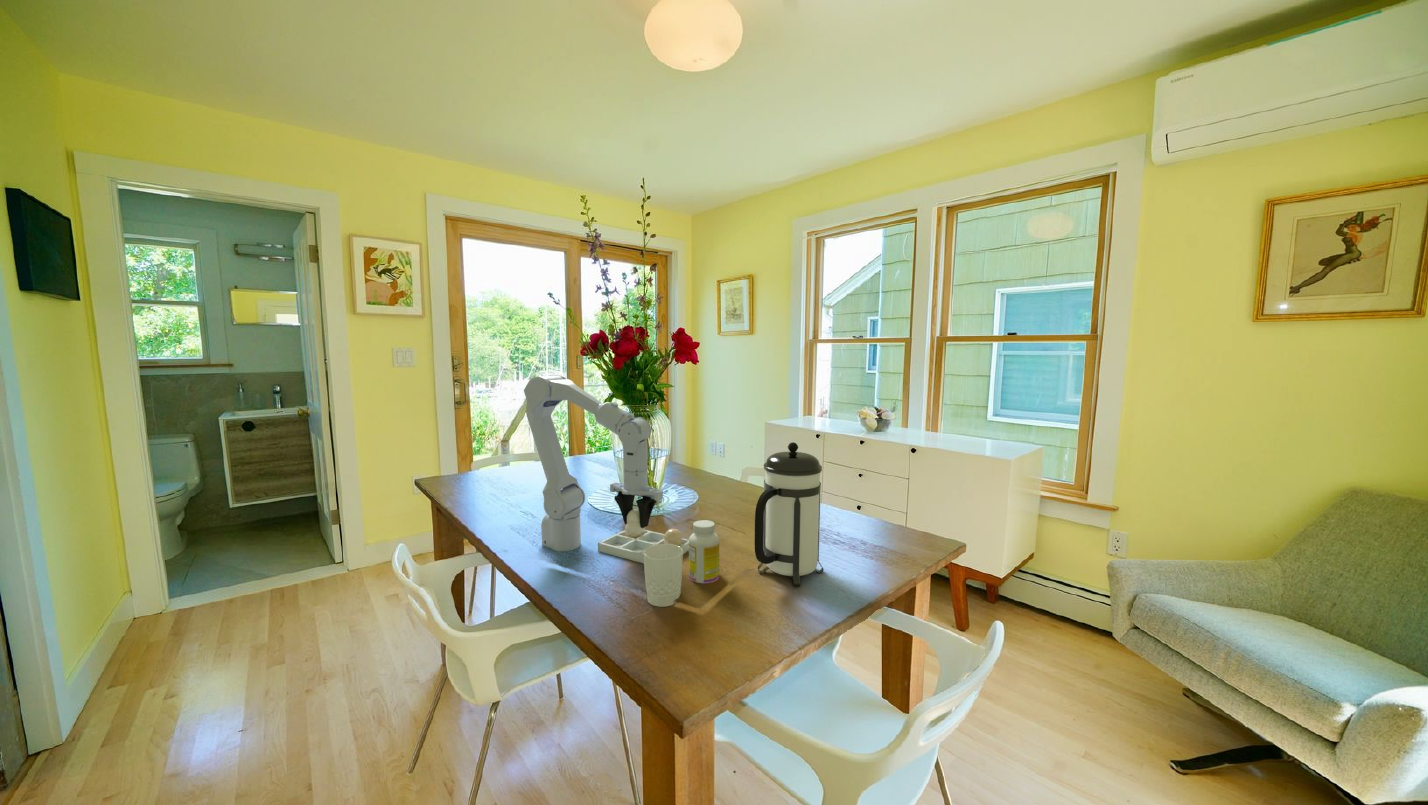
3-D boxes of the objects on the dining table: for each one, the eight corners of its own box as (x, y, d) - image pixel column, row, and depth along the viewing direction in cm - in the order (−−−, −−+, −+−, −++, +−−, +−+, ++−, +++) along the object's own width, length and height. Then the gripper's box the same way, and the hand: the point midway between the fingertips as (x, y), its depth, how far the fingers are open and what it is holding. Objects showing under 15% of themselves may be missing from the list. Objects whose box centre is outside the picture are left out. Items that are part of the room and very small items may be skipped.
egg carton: (598, 554, 119) (597, 542, 119) (631, 537, 131) (631, 526, 130) (661, 572, 110) (661, 559, 110) (692, 552, 121) (692, 540, 121)
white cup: (677, 610, 93) (676, 561, 92) (638, 606, 95) (637, 557, 94) (687, 591, 101) (687, 545, 100) (651, 587, 103) (650, 542, 102)
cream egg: (623, 531, 116) (622, 509, 115) (634, 526, 119) (634, 504, 119) (637, 535, 113) (637, 512, 113) (649, 529, 117) (648, 507, 117)
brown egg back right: (660, 551, 119) (660, 530, 118) (670, 545, 123) (670, 524, 122) (675, 555, 117) (675, 533, 116) (685, 549, 121) (685, 528, 120)
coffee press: (752, 557, 118) (753, 436, 115) (818, 559, 117) (821, 437, 114) (753, 592, 101) (755, 450, 98) (831, 594, 100) (835, 451, 97)
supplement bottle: (723, 576, 108) (723, 520, 107) (713, 589, 102) (713, 530, 101) (695, 571, 110) (695, 517, 109) (684, 584, 104) (684, 526, 103)
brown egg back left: (621, 541, 125) (621, 521, 124) (632, 536, 129) (632, 516, 128) (635, 545, 123) (634, 524, 122) (645, 539, 127) (645, 519, 126)
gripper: (600, 469, 115) (602, 524, 117) (649, 476, 108) (650, 535, 109) (620, 463, 121) (621, 516, 123) (667, 470, 114) (668, 526, 115)
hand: (636, 524), depth 116 cm, fingers closed on cream egg, 4 cm apart
